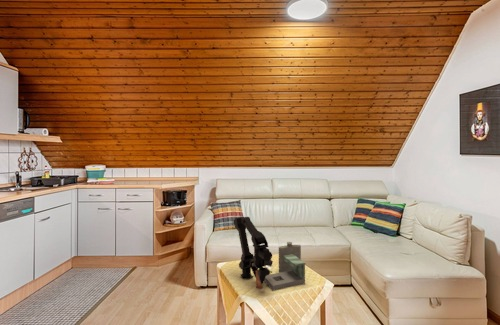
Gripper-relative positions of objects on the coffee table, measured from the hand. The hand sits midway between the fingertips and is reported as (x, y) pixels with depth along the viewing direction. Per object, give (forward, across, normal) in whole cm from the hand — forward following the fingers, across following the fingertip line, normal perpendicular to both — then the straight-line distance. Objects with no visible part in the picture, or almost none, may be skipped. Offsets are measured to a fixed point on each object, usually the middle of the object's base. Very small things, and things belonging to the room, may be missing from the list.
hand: (259, 280), depth 171 cm
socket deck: (+4, 0, -17) cm, 18 cm away
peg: (+4, 0, 0) cm, 4 cm away
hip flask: (+4, +12, -28) cm, 31 cm away
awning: (+1, 0, -24) cm, 24 cm away
